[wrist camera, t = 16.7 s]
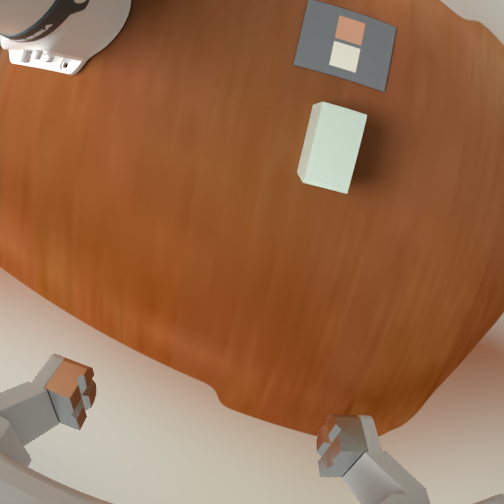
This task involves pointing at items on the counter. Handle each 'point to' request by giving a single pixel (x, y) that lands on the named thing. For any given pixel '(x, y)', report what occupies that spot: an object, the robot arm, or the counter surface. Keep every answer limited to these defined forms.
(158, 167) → the counter surface
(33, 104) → the counter surface
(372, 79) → the card
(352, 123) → the sage block
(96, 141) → the counter surface
